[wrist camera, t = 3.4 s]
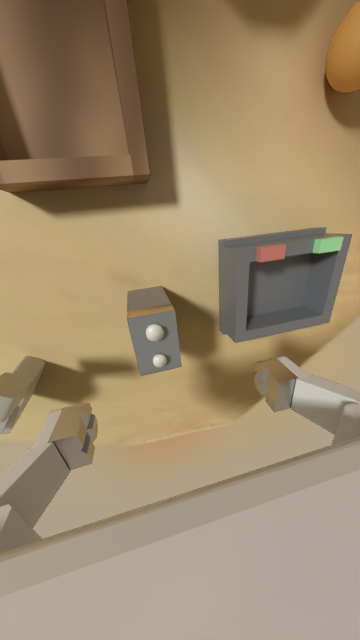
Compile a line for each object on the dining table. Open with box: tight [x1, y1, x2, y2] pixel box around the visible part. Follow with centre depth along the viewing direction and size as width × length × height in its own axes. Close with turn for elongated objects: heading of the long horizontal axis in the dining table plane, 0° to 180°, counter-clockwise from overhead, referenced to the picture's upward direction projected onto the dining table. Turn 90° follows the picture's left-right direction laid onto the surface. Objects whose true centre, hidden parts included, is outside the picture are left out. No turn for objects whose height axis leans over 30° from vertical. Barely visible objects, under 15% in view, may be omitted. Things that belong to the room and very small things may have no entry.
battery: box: [127, 286, 182, 376], centre depth 16 cm, size 3×4×6 cm, turn 6°
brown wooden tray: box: [0, 0, 150, 192], centre depth 10 cm, size 9×12×2 cm
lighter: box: [0, 356, 46, 434], centre depth 14 cm, size 7×2×8 cm, turn 149°
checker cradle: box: [219, 228, 352, 343], centre depth 18 cm, size 10×9×4 cm
